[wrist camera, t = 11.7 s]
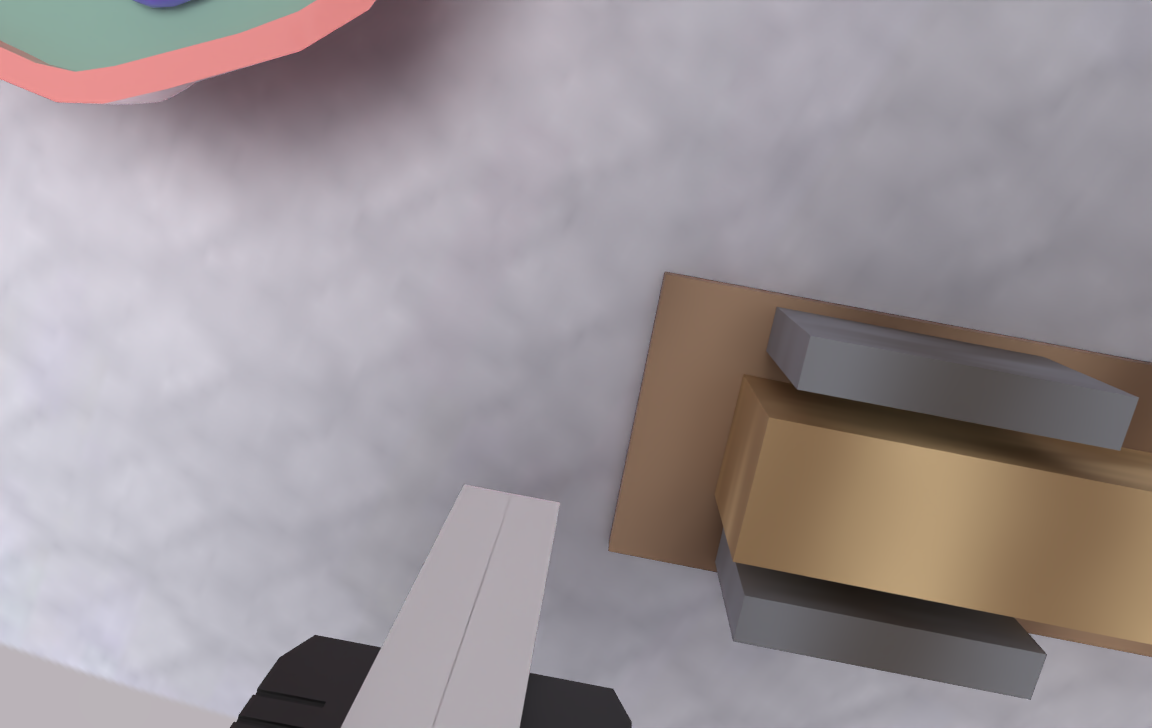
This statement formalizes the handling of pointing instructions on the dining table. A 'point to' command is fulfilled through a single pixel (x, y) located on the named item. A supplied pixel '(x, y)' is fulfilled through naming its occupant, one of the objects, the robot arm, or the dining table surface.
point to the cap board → (873, 375)
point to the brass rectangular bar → (939, 509)
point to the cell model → (152, 43)
